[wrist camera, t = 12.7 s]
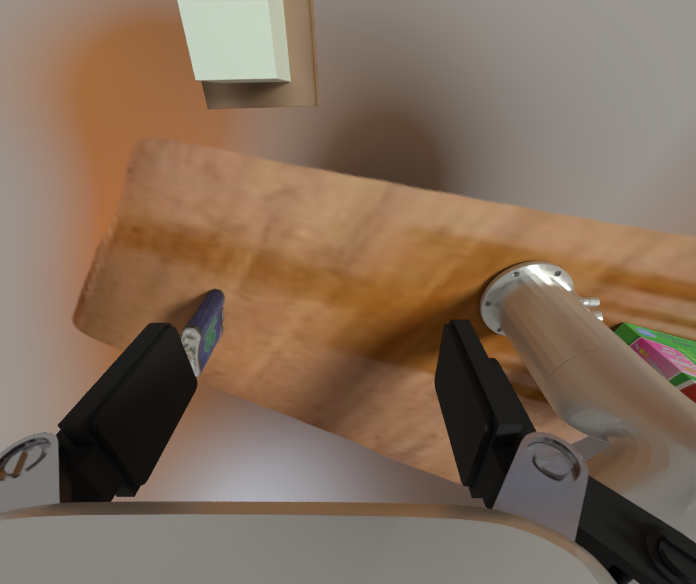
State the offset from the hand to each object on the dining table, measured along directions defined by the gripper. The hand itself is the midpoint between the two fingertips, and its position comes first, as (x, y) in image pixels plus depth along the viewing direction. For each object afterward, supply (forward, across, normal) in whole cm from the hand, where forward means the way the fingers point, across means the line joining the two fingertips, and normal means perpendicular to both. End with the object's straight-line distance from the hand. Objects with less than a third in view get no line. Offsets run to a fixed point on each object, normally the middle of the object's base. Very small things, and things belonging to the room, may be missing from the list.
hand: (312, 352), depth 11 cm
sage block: (+25, +7, -12) cm, 29 cm away
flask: (+31, +20, +20) cm, 42 cm away
